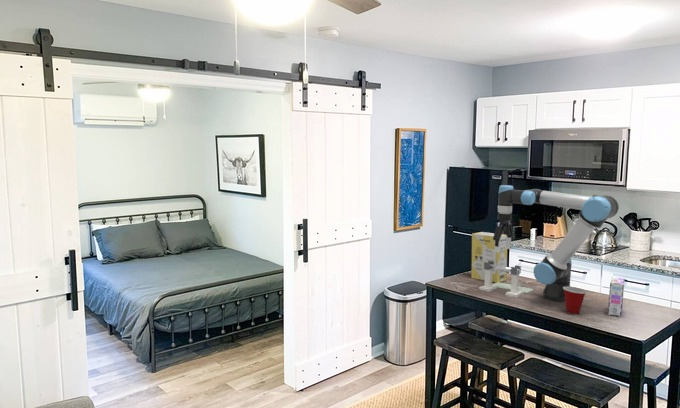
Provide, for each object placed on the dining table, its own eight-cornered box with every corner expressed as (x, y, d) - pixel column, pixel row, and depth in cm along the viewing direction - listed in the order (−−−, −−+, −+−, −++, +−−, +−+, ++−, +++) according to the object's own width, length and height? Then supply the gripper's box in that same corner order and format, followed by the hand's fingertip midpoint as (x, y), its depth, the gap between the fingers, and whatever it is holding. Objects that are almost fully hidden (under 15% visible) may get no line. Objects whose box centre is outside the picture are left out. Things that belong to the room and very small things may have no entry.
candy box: (621, 317, 243) (623, 284, 241) (607, 315, 246) (609, 282, 244) (622, 309, 254) (625, 278, 252) (609, 307, 257) (611, 276, 256)
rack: (523, 294, 280) (525, 266, 278) (515, 297, 273) (517, 269, 271) (487, 286, 295) (488, 259, 293) (478, 289, 288) (480, 262, 286)
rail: (520, 273, 277) (520, 268, 276) (518, 275, 275) (517, 270, 274) (486, 267, 290) (486, 262, 289) (484, 269, 288) (484, 264, 287)
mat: (534, 290, 288) (534, 289, 288) (526, 293, 281) (526, 292, 281) (498, 283, 303) (498, 282, 303) (490, 286, 296) (490, 285, 296)
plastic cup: (589, 316, 244) (591, 292, 243) (567, 315, 244) (568, 291, 243) (579, 308, 255) (580, 285, 253) (558, 308, 255) (559, 285, 254)
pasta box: (506, 280, 308) (507, 234, 305) (497, 282, 301) (498, 236, 299) (481, 275, 321) (481, 232, 319) (471, 277, 315) (472, 233, 312)
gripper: (508, 210, 291) (506, 246, 293) (487, 214, 272) (485, 252, 275) (520, 211, 285) (518, 248, 288) (500, 215, 267) (498, 254, 270)
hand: (502, 250), depth 281 cm, fingers open, 13 cm apart
